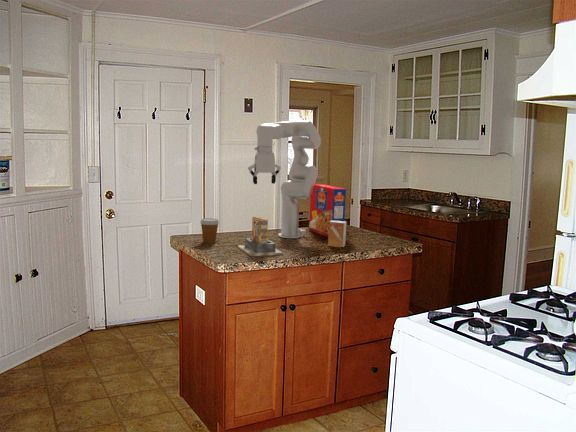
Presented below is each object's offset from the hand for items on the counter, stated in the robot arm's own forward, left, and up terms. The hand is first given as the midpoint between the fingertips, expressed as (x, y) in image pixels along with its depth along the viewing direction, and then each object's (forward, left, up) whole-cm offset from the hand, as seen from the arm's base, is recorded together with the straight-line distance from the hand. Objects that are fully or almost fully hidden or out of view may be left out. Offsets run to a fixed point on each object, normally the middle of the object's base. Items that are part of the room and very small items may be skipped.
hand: (264, 183), depth 279 cm
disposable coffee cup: (+25, -12, -32) cm, 42 cm away
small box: (-38, +9, -32) cm, 51 cm away
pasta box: (-48, -25, -32) cm, 63 cm away
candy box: (+6, +13, -31) cm, 34 cm away
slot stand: (+6, +13, -32) cm, 35 cm away
